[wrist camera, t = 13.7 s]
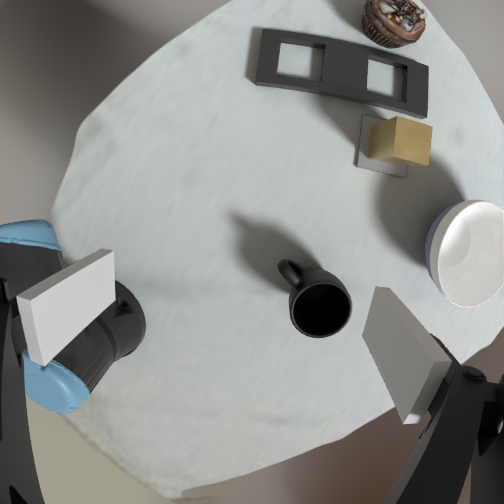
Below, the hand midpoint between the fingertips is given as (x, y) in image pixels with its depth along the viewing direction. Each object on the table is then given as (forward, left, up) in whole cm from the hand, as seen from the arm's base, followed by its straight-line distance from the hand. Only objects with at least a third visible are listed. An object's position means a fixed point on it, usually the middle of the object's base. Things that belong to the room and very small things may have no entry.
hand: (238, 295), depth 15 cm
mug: (+8, -9, -32) cm, 34 cm away
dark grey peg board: (+10, +23, -32) cm, 40 cm away
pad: (+17, +13, -32) cm, 38 cm away
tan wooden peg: (+17, +13, -31) cm, 38 cm away
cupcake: (+16, +33, -32) cm, 49 cm away
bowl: (+32, 0, -32) cm, 45 cm away
